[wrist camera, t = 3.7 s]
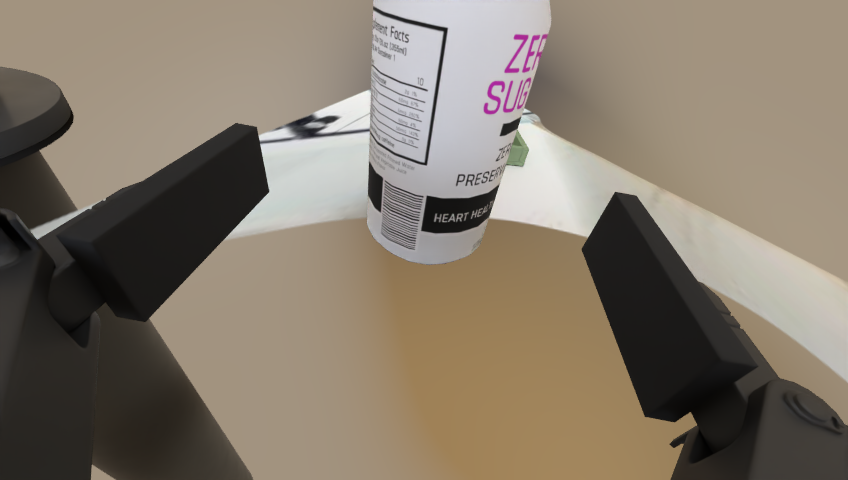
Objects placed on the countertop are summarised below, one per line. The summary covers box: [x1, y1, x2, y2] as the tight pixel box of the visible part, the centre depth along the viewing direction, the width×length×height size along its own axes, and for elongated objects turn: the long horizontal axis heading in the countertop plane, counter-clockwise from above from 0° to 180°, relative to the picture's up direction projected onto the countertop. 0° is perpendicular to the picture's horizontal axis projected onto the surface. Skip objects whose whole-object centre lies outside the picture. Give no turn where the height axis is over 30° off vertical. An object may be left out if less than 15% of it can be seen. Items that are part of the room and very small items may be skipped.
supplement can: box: [367, 0, 551, 265], centre depth 19 cm, size 8×8×15 cm
